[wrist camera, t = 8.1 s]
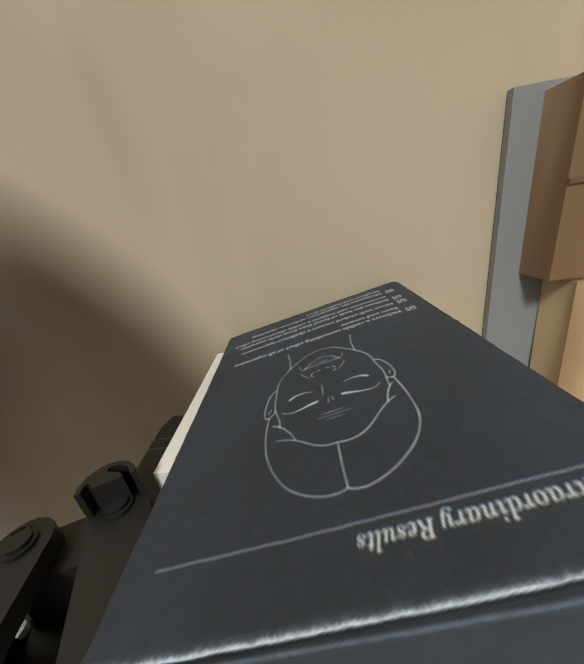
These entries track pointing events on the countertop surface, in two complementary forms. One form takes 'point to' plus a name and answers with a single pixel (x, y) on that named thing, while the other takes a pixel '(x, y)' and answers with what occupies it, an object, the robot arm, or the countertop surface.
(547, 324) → the plank
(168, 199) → the countertop surface
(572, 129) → the floor strip
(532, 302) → the underlay
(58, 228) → the countertop surface
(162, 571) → the box
